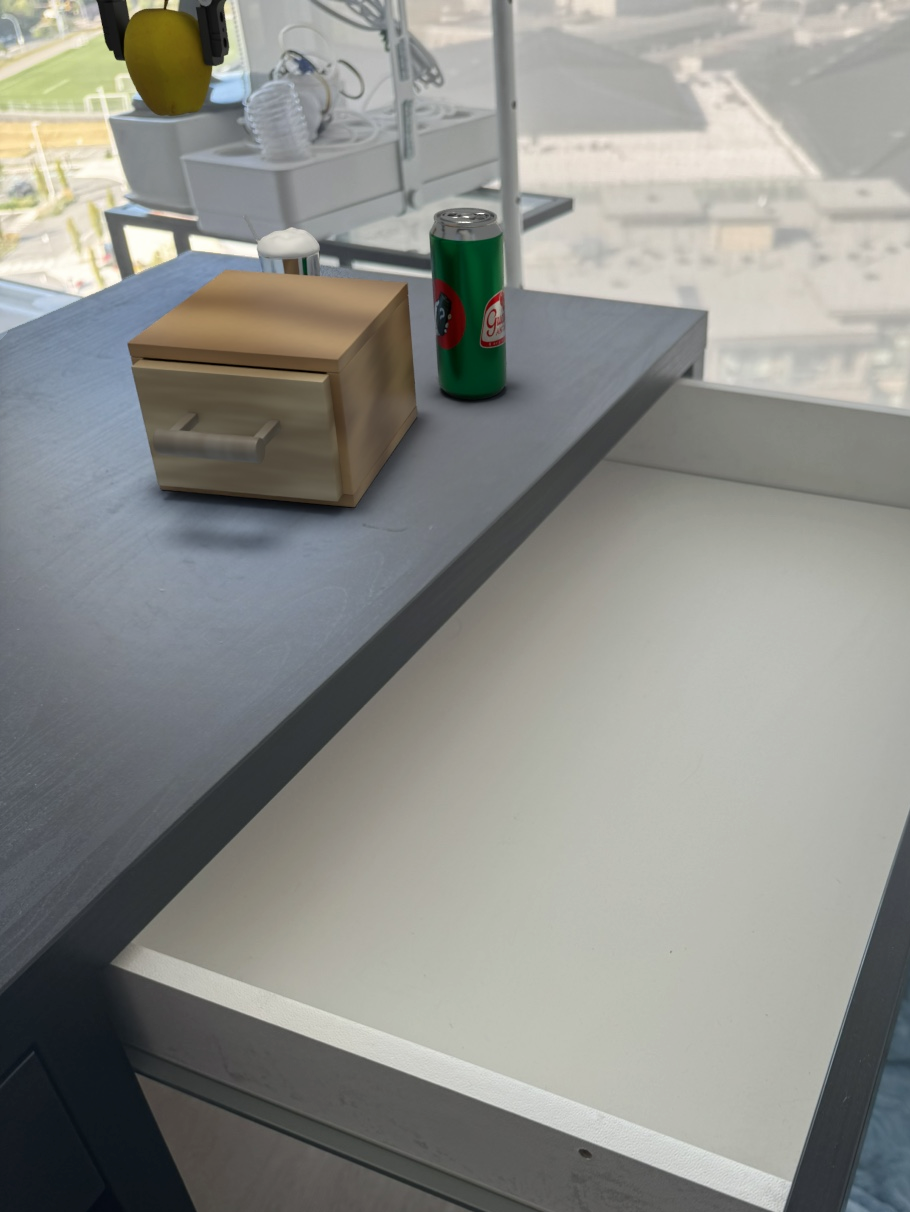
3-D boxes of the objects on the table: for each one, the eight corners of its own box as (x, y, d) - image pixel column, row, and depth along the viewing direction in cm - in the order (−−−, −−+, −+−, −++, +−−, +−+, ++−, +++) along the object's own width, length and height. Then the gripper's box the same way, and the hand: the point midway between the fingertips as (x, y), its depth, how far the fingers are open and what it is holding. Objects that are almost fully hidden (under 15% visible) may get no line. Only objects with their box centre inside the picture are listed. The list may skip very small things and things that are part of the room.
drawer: (313, 534, 67) (296, 411, 62) (126, 517, 68) (94, 394, 63) (399, 415, 80) (390, 306, 76) (241, 402, 82) (222, 294, 77)
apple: (198, 128, 87) (178, 0, 82) (120, 121, 88) (95, -5, 83) (235, 113, 92) (219, -8, 87) (161, 107, 93) (140, -13, 88)
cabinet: (354, 507, 72) (337, 359, 66) (160, 489, 73) (126, 342, 67) (417, 416, 83) (407, 282, 77) (247, 401, 84) (225, 269, 78)
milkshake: (277, 342, 93) (257, 207, 87) (340, 349, 93) (325, 213, 86) (253, 362, 90) (231, 223, 84) (319, 369, 89) (301, 228, 83)
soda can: (498, 405, 85) (492, 227, 77) (430, 399, 85) (418, 222, 78) (513, 380, 88) (510, 208, 81) (449, 374, 89) (439, 203, 81)
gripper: (245, -225, 80) (279, 60, 90) (47, -232, 81) (102, 49, 92) (201, -230, 74) (242, 75, 84) (-12, -238, 75) (55, 63, 86)
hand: (169, 61), depth 88 cm, fingers closed on apple, 6 cm apart
